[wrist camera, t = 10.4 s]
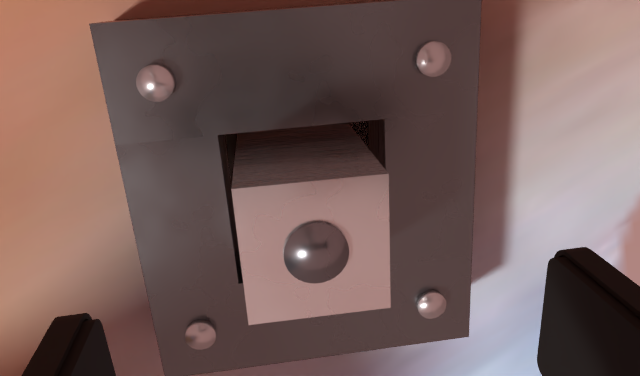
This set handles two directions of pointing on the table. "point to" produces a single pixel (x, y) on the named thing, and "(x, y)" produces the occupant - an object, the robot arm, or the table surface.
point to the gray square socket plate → (290, 112)
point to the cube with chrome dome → (311, 223)
